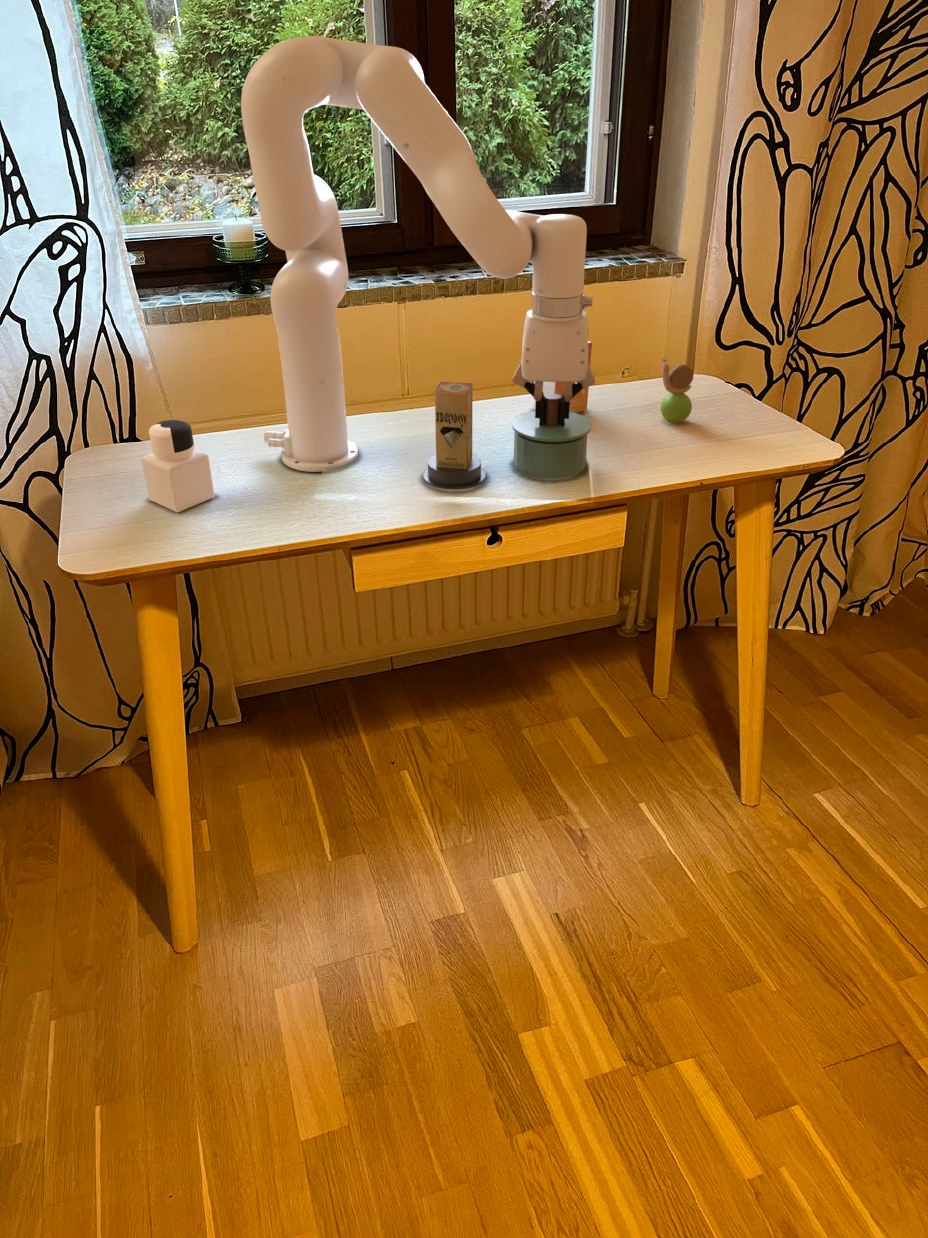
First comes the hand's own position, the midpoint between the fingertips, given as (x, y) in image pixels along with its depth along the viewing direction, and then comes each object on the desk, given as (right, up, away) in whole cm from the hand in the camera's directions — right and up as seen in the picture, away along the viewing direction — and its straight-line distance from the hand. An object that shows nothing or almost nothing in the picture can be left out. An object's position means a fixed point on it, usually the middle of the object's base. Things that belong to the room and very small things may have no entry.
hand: (551, 421), depth 154 cm
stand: (-15, -9, 0) cm, 18 cm away
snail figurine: (+23, +4, +20) cm, 31 cm away
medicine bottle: (-57, -13, -6) cm, 59 cm away
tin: (0, -7, +4) cm, 8 cm away
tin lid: (0, -1, 0) cm, 1 cm away
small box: (+4, +7, +25) cm, 26 cm away
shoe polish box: (-15, -7, -1) cm, 17 cm away
